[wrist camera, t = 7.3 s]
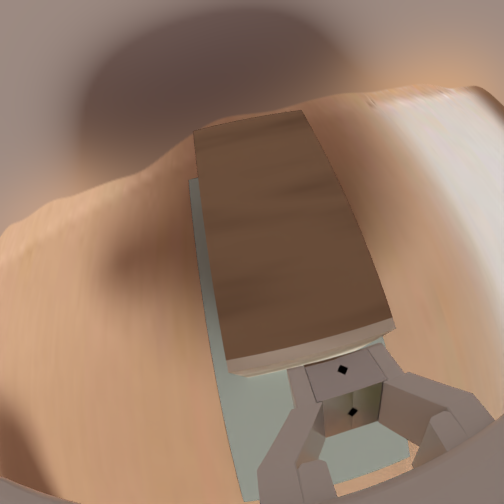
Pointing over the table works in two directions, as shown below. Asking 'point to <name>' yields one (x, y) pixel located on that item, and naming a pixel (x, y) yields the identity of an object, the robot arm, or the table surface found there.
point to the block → (283, 248)
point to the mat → (278, 402)
